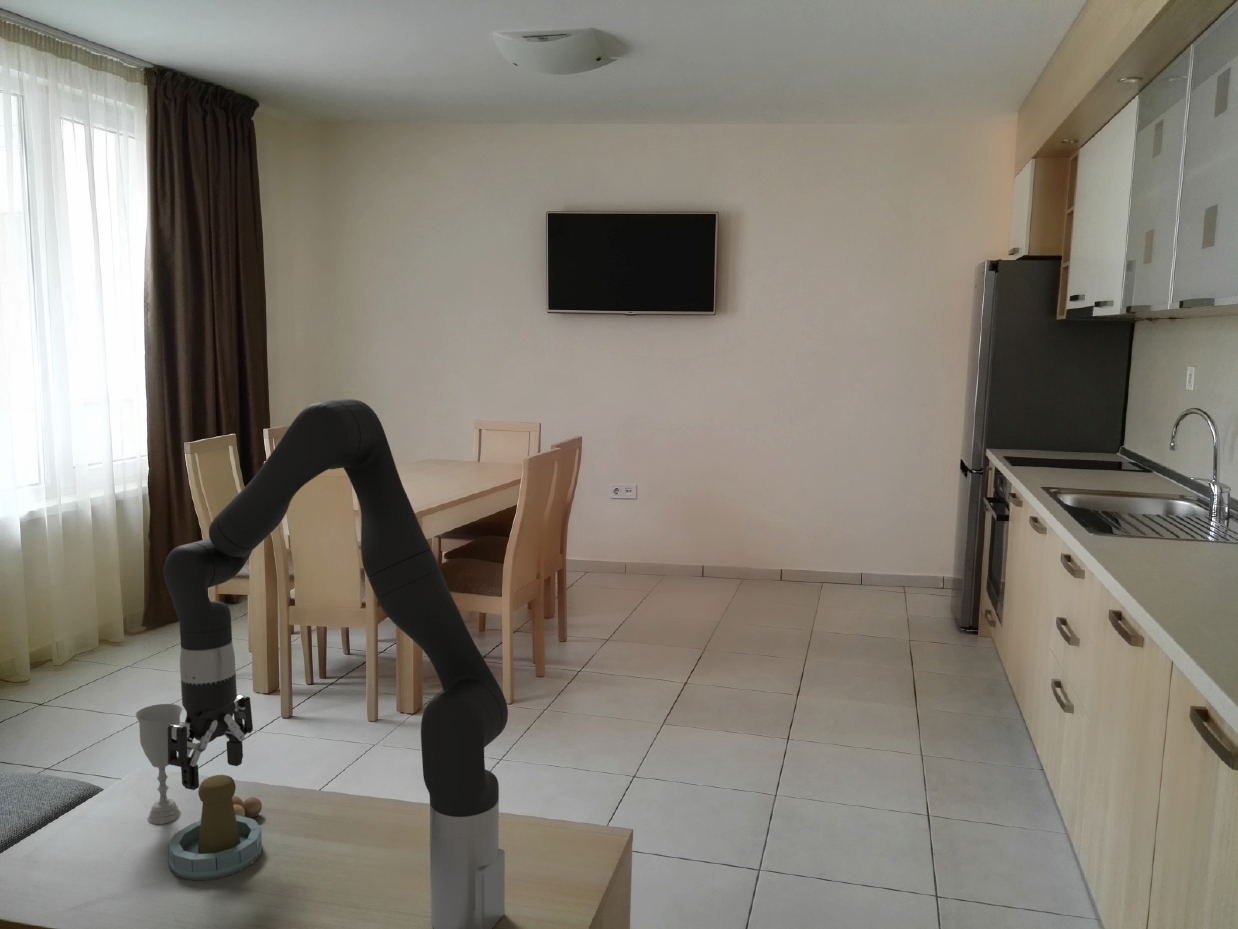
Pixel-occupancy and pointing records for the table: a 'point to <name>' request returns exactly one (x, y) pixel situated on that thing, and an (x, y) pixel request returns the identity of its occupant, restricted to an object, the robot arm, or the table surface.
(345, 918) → the table surface
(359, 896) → the table surface
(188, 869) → the dish
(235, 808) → the bead pile
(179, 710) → the chalice
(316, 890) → the table surface
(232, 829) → the cork
